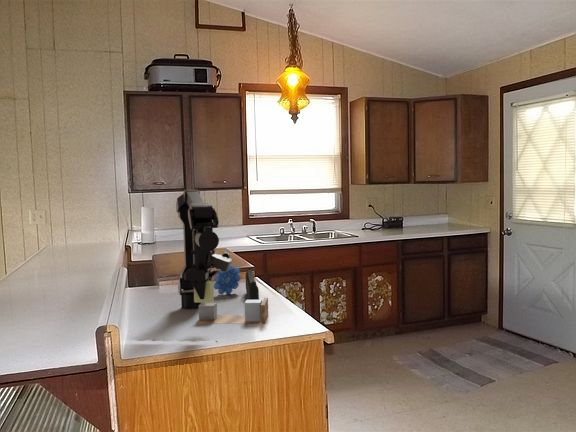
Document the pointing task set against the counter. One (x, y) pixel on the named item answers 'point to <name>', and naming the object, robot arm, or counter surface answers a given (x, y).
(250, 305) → the pale blue block
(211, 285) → the pale yellow block
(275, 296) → the counter surface
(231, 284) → the grapes
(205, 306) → the grey cube-like block
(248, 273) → the magazine
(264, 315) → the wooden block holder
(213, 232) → the robot arm
